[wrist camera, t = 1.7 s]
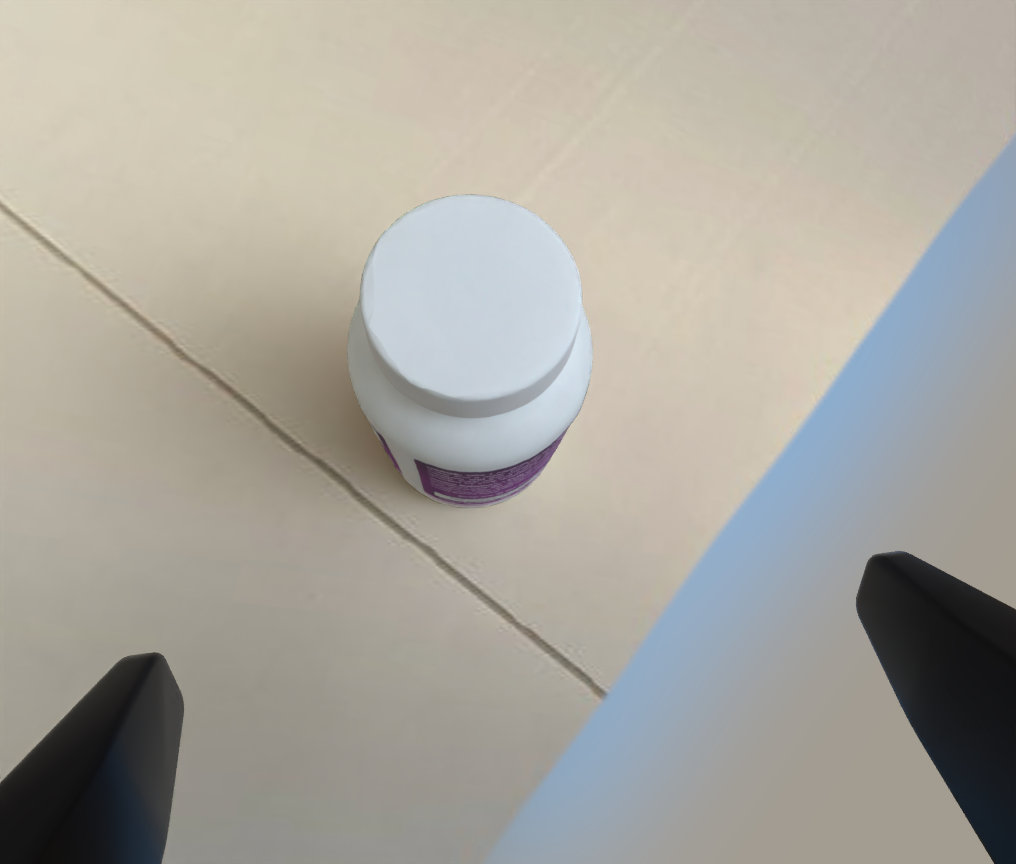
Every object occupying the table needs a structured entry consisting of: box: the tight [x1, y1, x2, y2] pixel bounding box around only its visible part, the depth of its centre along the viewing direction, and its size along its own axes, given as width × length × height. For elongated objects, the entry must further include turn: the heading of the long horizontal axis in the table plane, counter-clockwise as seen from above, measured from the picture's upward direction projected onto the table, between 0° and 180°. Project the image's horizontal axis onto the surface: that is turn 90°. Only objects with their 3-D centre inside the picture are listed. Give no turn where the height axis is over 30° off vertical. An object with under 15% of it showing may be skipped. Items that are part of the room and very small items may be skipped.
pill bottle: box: [347, 194, 593, 508], centre depth 17 cm, size 5×5×10 cm
